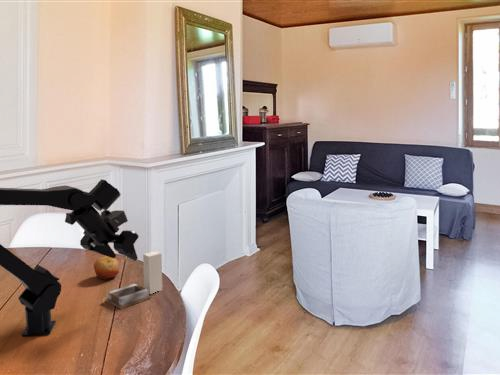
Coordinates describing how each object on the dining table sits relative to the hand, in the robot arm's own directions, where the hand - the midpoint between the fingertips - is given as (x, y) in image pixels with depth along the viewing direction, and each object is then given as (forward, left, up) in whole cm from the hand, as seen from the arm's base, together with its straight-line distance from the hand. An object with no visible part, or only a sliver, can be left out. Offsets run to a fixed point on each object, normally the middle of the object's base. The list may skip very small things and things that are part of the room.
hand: (125, 258), depth 127 cm
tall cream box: (+5, -8, -13) cm, 15 cm away
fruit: (+19, +8, -13) cm, 24 cm away
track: (0, -1, -13) cm, 13 cm away
